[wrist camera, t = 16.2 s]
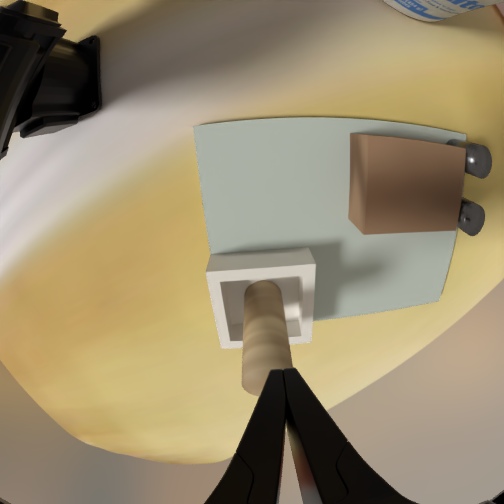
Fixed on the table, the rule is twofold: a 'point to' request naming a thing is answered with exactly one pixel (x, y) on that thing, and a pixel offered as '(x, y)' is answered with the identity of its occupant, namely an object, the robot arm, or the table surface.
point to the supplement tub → (437, 7)
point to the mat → (316, 210)
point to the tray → (262, 269)
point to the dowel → (263, 335)
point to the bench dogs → (480, 167)
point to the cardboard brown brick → (404, 184)
